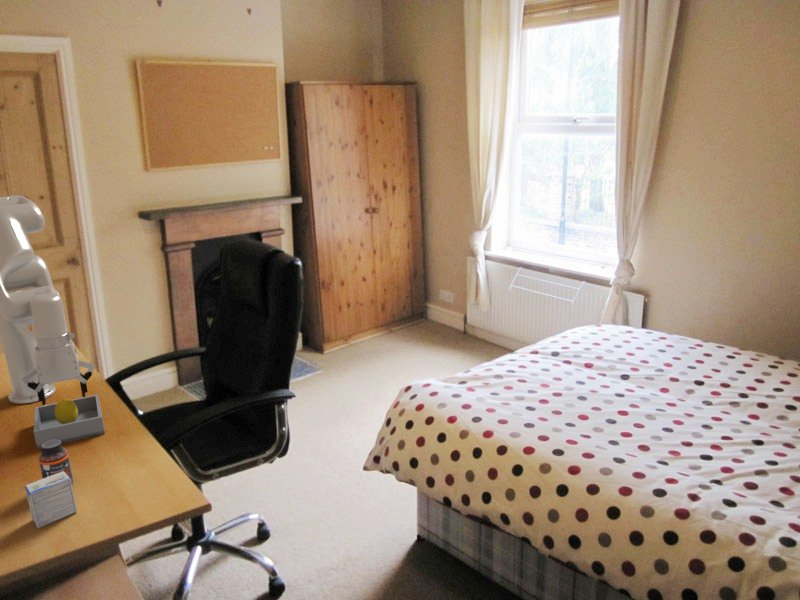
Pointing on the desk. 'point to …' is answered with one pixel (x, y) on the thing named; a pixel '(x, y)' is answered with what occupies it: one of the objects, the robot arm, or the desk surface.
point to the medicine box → (50, 499)
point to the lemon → (66, 411)
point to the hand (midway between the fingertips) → (64, 399)
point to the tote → (81, 428)
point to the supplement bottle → (54, 459)
